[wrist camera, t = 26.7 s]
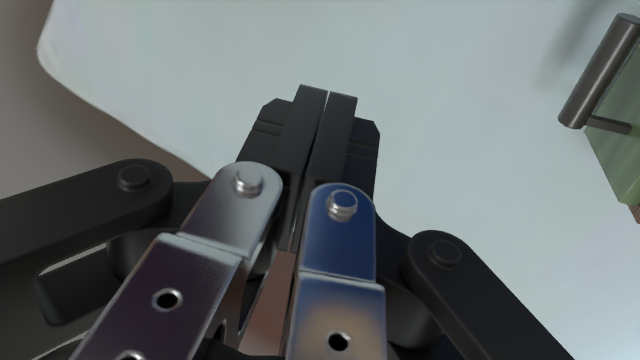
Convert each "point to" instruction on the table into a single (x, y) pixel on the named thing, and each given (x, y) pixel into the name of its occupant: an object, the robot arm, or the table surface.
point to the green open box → (612, 108)
